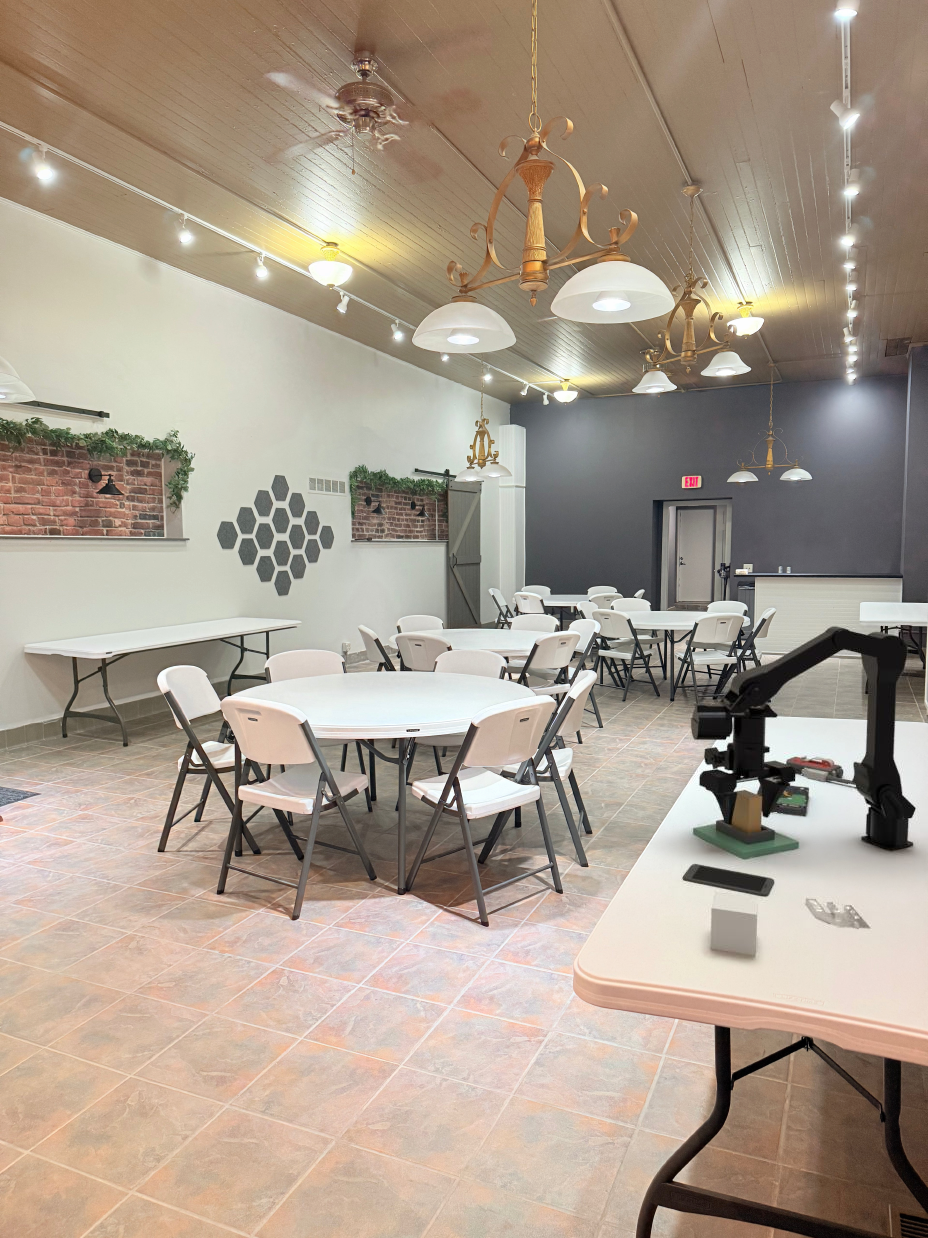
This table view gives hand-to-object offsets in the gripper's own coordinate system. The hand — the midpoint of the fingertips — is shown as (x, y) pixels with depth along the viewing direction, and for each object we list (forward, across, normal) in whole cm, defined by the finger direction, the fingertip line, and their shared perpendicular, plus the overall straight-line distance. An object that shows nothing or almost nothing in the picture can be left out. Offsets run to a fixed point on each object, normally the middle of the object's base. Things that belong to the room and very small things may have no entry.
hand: (746, 820), depth 154 cm
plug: (+3, 0, 0) cm, 3 cm away
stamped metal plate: (+5, +10, +30) cm, 31 cm away
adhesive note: (+4, +30, +30) cm, 42 cm away
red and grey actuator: (+5, -48, -25) cm, 54 cm away
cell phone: (+5, +16, +13) cm, 21 cm away
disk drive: (+5, -24, -14) cm, 28 cm away
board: (+4, 0, 0) cm, 4 cm away
